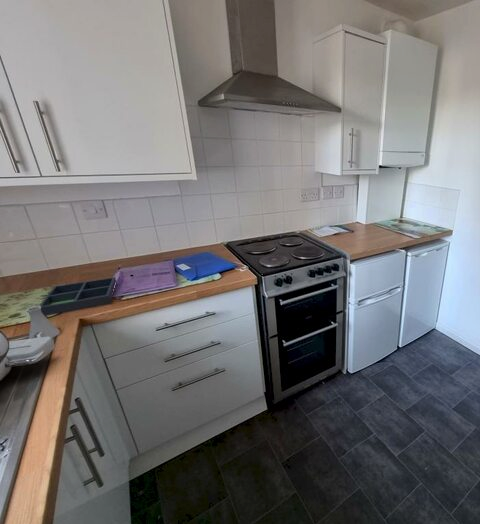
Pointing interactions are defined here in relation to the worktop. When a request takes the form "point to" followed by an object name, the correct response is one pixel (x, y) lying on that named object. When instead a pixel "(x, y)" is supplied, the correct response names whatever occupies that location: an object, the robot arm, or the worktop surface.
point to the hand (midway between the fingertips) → (20, 336)
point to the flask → (41, 323)
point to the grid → (78, 296)
